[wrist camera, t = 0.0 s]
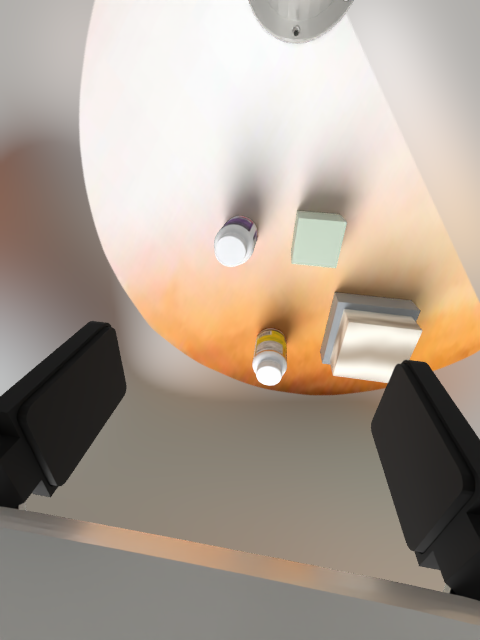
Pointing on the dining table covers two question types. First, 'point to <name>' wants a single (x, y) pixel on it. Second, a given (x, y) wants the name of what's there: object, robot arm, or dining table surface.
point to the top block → (372, 344)
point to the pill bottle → (235, 241)
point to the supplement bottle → (270, 356)
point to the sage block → (317, 238)
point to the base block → (361, 304)
